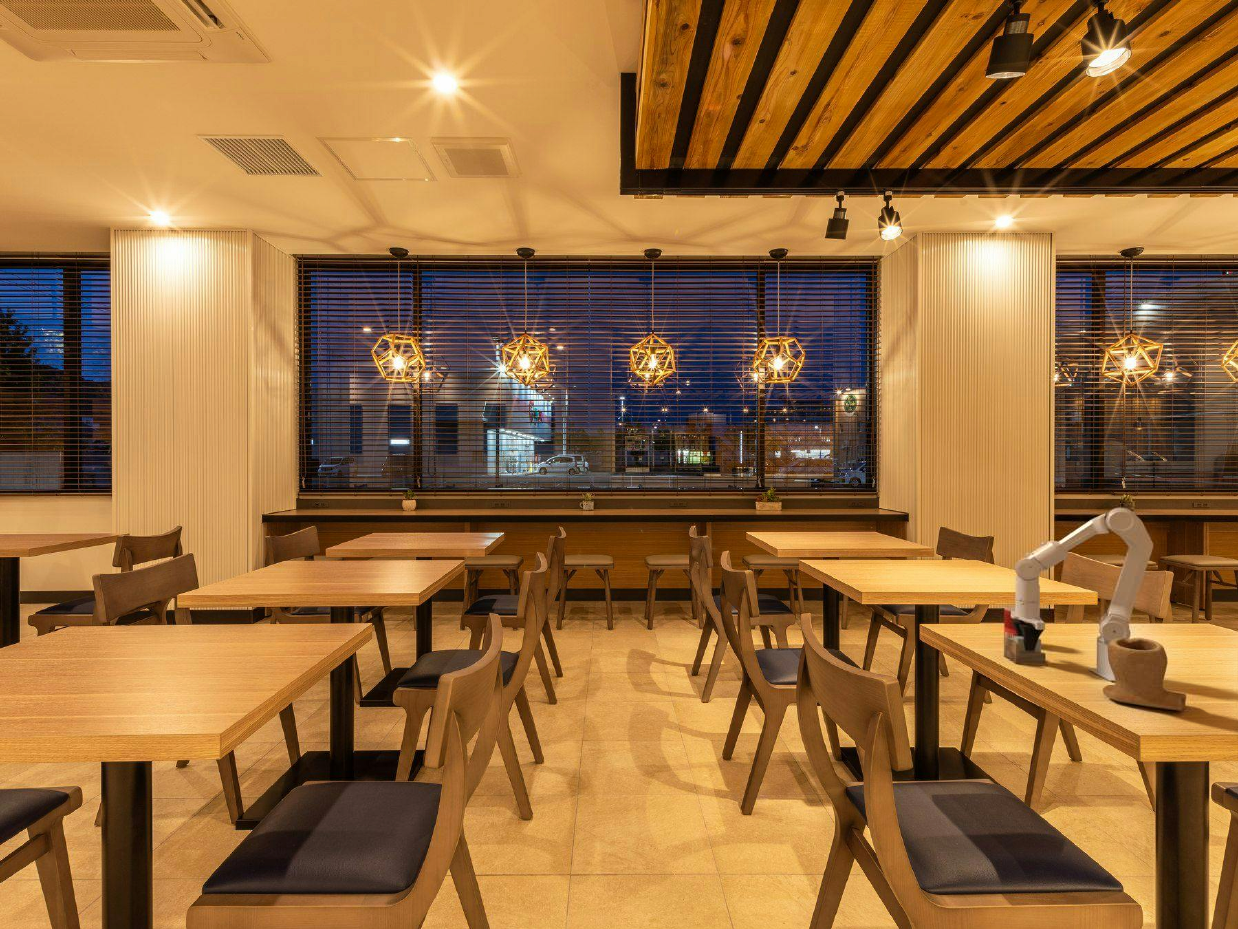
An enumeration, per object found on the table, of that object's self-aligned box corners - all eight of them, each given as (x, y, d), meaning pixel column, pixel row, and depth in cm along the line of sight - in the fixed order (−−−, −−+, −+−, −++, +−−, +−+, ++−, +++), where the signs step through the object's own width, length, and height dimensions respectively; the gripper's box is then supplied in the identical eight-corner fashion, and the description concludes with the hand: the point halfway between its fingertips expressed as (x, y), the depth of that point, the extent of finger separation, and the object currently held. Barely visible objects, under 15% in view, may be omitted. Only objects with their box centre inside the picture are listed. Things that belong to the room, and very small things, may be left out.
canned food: (1033, 649, 183) (1034, 612, 183) (1002, 644, 188) (1003, 608, 188) (1035, 643, 190) (1035, 608, 190) (1005, 638, 194) (1005, 604, 194)
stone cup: (1104, 705, 140) (1104, 640, 140) (1101, 690, 149) (1102, 629, 149) (1194, 722, 131) (1194, 652, 131) (1185, 705, 140) (1185, 640, 140)
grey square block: (1040, 661, 170) (1041, 639, 170) (1017, 660, 171) (1017, 638, 171) (1036, 658, 172) (1036, 637, 172) (1013, 657, 173) (1013, 636, 173)
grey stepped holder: (1047, 665, 168) (1047, 645, 168) (1015, 664, 169) (1016, 644, 169) (1034, 657, 175) (1034, 638, 175) (1003, 656, 176) (1004, 637, 176)
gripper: (1000, 594, 179) (999, 640, 179) (1025, 605, 165) (1024, 655, 165) (1026, 595, 178) (1025, 642, 178) (1053, 606, 164) (1053, 657, 164)
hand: (1027, 648), depth 172 cm, fingers closed on grey square block, 2 cm apart
